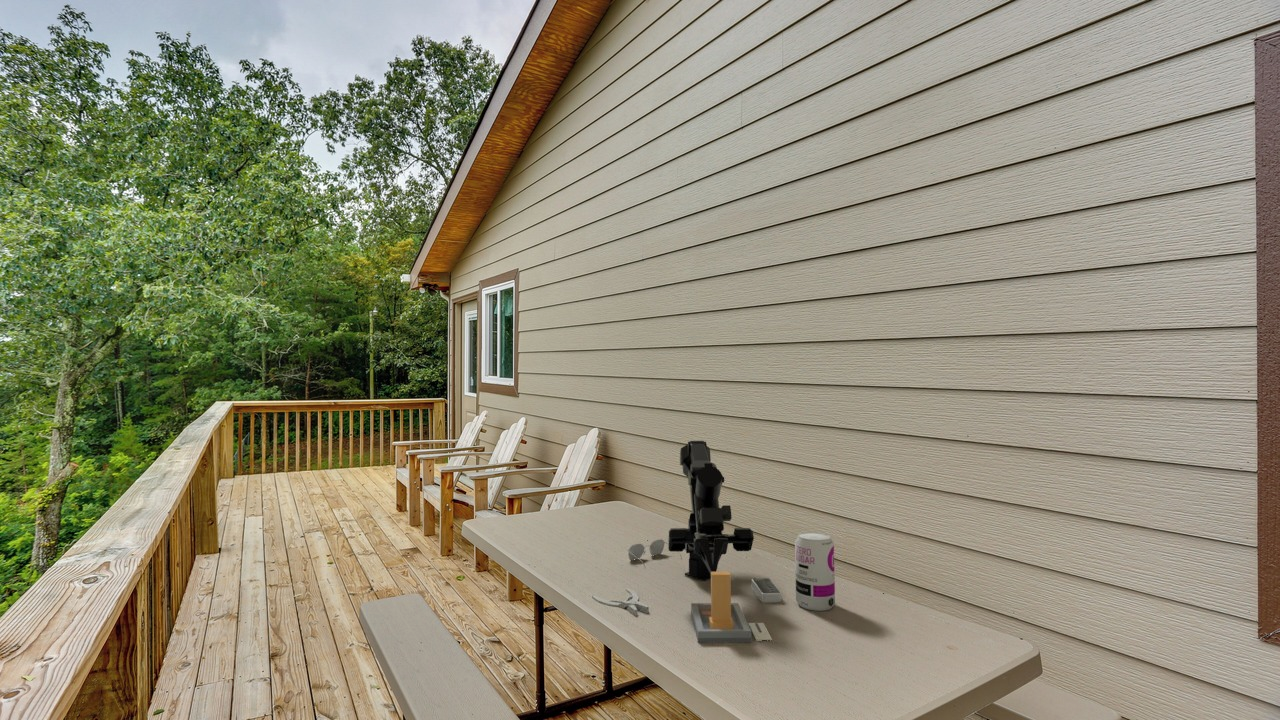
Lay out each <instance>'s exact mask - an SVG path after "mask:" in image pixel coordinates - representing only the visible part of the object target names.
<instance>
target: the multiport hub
mask: <svg viewBox="0 0 1280 720" xmlns="http://www.w3.org/2000/svg"><path fill="white" fill-rule="evenodd" d="M751 588H752V590H753V591H754V594H755V595H756V596H757V598H758V599H759V598H760V599H759V600H760V602H761V603H782V592H781V590H779V588H778V587H777V585H776V584H775V583H773V581H772V579H770V578H769V577H767V578H765V577H764V578H763V577H761V578H760V577H759V578H758V577H757V578H751Z"/></svg>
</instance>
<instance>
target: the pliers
mask: <svg viewBox="0 0 1280 720" xmlns="http://www.w3.org/2000/svg"><path fill="white" fill-rule="evenodd" d="M626 592H628V593H629V594H630V596H627V597H626V600H625V599H624V600H623V601H622V600H618V599H617V600H615V599H609V600H608V599H603V598H600V597H598V596H597V595H591V597H592V599H593V601H596V602H597V603H600V604H603V605H605V606H606V605H607V606H611V607H619V608H623V609H625V608H626V610H627V611H628V612H629V613H631V614H632V615H633V616H638V611H640V612H643V613H645V614H648V613H650V612H649V611H650V608H649V605H646V604H645V603H643V602H641V601H639V595H638V593H636V591H634V590H633V589H629V588H626ZM630 599H631V600H630Z"/></svg>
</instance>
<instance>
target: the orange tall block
mask: <svg viewBox="0 0 1280 720" xmlns="http://www.w3.org/2000/svg"><path fill="white" fill-rule="evenodd" d="M731 583H732V582H731V573H730V571H716V572H711V578H710V603H711V617H709V625H710V628H711V629H734V625H733V620H732V618H731V603H732V599H731V598H732V596H731V595H732V594H731V593H732V591H731V589H732V588H731V587H732V586H731V585H732V584H731Z"/></svg>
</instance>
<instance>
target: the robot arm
mask: <svg viewBox="0 0 1280 720" xmlns="http://www.w3.org/2000/svg"><path fill="white" fill-rule="evenodd" d="M711 459H712V458H711V448H710V447H709V446H708V445H707V441H705V440H690V441H687V444H686V445H685V446H683V447H681V448H680V451H679V465H680V466H682V474H683V475H685V476H686V478H687V482H688V486H689V492H690V493H689V494H690V503H691V513H690V515H689V519H688V522H687V528H686V527H685V528H684V527H683V528H681V527H679V528H677V527H675V528H674V527H672V528H670V529H669V530H668V536H667V537H668V538H667V539H668V540H667V543H668V544H667V545H668V547H667V548H668V551H669V552H677V553H678V552H679V553H680V552H681V553H682V552H683V551H684V550H685V553H686V554H689V558H688V571H687V572H684V576H685V577H689V578H693V579H696V580H701V581H708V580H711V572H718V571H717V570H718V567H719V562H720V560H721V557H722V555H726V554H727V552H728V547H729V544H732V548H733V550H735V551H736V552H749V551H751V550H752V548H753V545H754V544H753V543H754V537H755V536H754V531H753V530H752V529H751V528H750V527H735V528H734V529H733V533H727V534H726V533H723V531H724V530H725V525H724V522H731V520H732V519H733V518H732V508H731V505H730V504H729V505H728V504H727V505H725V504H723V505H722V506H721V507H720V502H719V497H720V494H721V489H722V485H723V483H725V477H724V475H723V474H722V472H721V471H720V469H718V468H717V465H716V464H715V463H714V462H711V461H712V460H711Z"/></svg>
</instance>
